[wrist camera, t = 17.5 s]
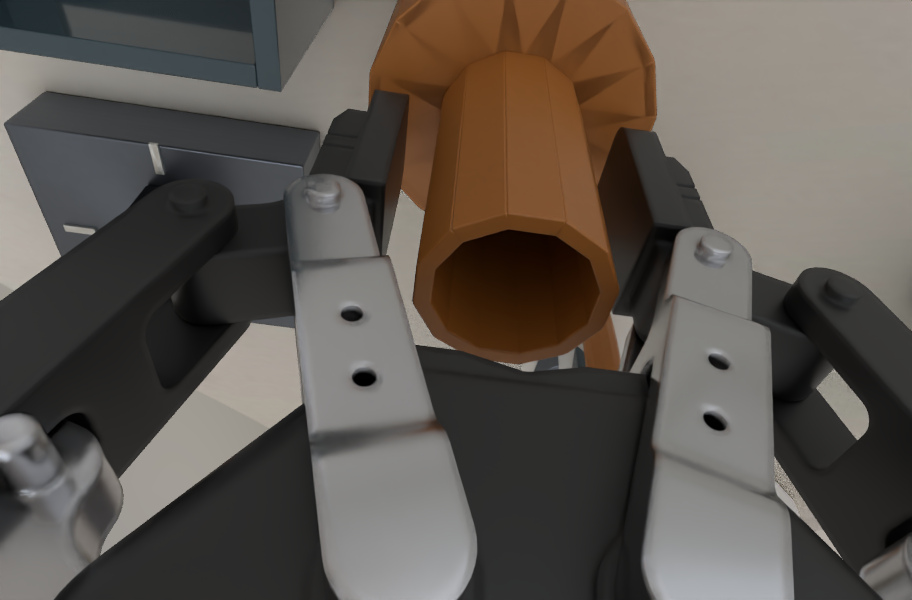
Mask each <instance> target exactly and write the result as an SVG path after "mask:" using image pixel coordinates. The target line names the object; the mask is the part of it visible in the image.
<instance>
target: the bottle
mask: <svg viewBox="0 0 912 600" xmlns="http://www.w3.org/2000/svg"><path fill="white" fill-rule="evenodd" d="M375 89H376V90H383V91H390V92H396V93H403V94H409V112H408V125H407V137H406V149H405V161H404V171H403V178H402V184H401V189H402V190H403V191H404V192H405V193H406V194H407V195H408V196H409V197H410V199H411V200H412V201H413V202H414V203H415V204H416V205H417V206H418V207H419V208H420V209H422V210H424V211H425V215H424V221H423V228H422V234H421V240H420V247H419V253H418V259H417V266H416V274H415V283H414V292H413V300H412V301H413V304H414V306H415V308H416V309H417V311H418V312H419V314H420V316H421V317H422V319H423V320H424V322H425V324H426V325H427V327H428V328H429V330H430V332H431V333H432V335H433V336H434V337H435V338H437V339H438V340H440V341H442V342H444V343H446V344H447V345H449V346H451V347H453V348H455V349H456V350H459V351H464V352H467V353H470V354H473V355H476V356H479V357H482V358H485V359H488V360H491V361H496V362H504V363H512V364H524V363H529V362H533V361H538V360H542V359H547V358H552V357H556V356H561V355H565V354H567V353H569V352H570V351H572V350H573V349H575V348H576V347H577V346H579V345H580V344H582V343H583V342H585V341H586V340H588V339H589V338H590V337H592V336H593V335H595V334H596V333H598V332H599V331H601V330H602V328H603V327H604V325H605V323H606V321H607V319H608V316H609V314H610V312H611V310H612V308H613V305H614V303H615V301H616V299H617V296H618V294H619V284H618V279H617V275H616V270H615V266H614V261H613V256H612V252H611V247H610V243H609V238H608V234H607V229H606V224H605V220H604V215H603V211H602V206H601V201H600V197H599V192H598V188H597V186H598V183H599V180H600V177H601V174H602V171H603V168H604V166H605V163H606V160H607V157H608V154H609V151H610V149H611V146H612V143H613V140H614V137H615V135H616V133H617V131H618V130H619V128H621V127H625V128H632V129H639V130H645V131H651V130H652V127H653V125H654V122H655V120H656V116H657V104H656V74H655V61H654V57H653V55H652V53H651V51H650V49H649V47H648V45H647V43H646V41H645V39H644V37H643V35H642V32H641V30H640V28H639V26H638V24H637V22H636V20H635V18H634V16H633V14H632V12H631V10H630V8H629V6H628V4H627V2H626V0H398V1H397V4H396V7H395V9H394V12H393V14H392V17H391V19H390V22H389V24H388V27H387V29H386V32H385V34H384V37H383V40H382V42H381V45H380V47H379V50H378V52H377V55H376V57H375V60H374V62H373V65H372V67H371V70H370V78H369V105H370V102H371V99H372V97H373V94H374V91H375Z"/></svg>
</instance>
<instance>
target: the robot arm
mask: <svg viewBox="0 0 912 600" xmlns="http://www.w3.org/2000/svg"><path fill="white" fill-rule="evenodd" d="M408 112H409V94H403V93H396V92H390V91H383V90H376V89H375V91H374V94H373V97H372V99H371V102H370V105H369V108H368V111H360V110H353V109H347V110H346V111H344V112H343V113H341V114H340V115H338V116H337V117H335V118H334V119H333V121H332V124H331V126H330V128H329V130H328V134H327V135H326V137H325V139H324V142H323V145H322V146H321V149H320V151H319V153H318V155H317V158H316V160H315V162H314V165H313V167H312V169H311V171H310V174H309V175H307V176H304V177H300V178H298V179H296V180H294V181H293V182H291V183H290V184H289V185H288V186H287V187H286V188H285V190H284V193H283V200H280V201H276V202H271V203H263V204H247V205H235V201H234V197H233V194H232V193H231V191H230V190H229V189H228V188H226V187H225V186H223V185H222V184H219V183H217V182H214V181H210V180H204V179H184V180H178V181H173V182H170V183H167V184H164V185H162V186H160V187H158V188H156V189H155V190H153V191H152V192H150V193H149V194H147V195H146V196H145V197H143V198H142V199H141V200H139V201H138V202H136V203H135V204H134V205H132V206H131V207H129V208H128V209H127V210H125V211H124V212H123V213H121V214H120V215H118V216H117V217H116V218H114V219H113V220H112V221H110V222H109V223H107V224H106V225H105V226H103V227H102V228H100V229H99V230H98V231H96V232H95V233H94V234H92V235H91V236H89V237H88V238H87V239H85V240H84V241H83V242H81V243H80V244H78V245H77V246H76V247H74V248H73V249H72V250H70V251H69V252H67V253H66V254H65V255H63V256H62V257H60V258H59V259H58V260H56V261H55V262H54V263H52V264H51V265H49V266H48V267H47V268H45V269H44V270H43V271H41V272H40V273H38V274H37V275H36V276H34V277H33V278H32V279H30V280H29V281H27V282H26V283H25V284H23V285H22V286H20V287H19V288H18V289H16V290H15V291H14V292H12V293H11V294H9V295H8V296H7V297H5V298H4V299H3V300H1V301H0V600H912V331H911V330H910V329H909V328H908V327H907V326H906V325H905V324H904V323H903V322H902V321H901V320H900V319H899V318H898V317H897V316H896V315H895V314H894V313H893V312H892V311H891V310H890V309H889V308H888V307H887V306H886V305H884V304H883V303H882V302H881V301H880V300H879V299H878V298H877V297H876V296H875V295H874V294H873V293H872V292H871V291H870V290H869V289H868V288H867V287H866V286H864V285H863V284H862V283H860V282H859V281H857V280H855V279H854V278H852V277H850V276H848V275H846V274H843V273H841V272H838V271H835V270H831V269H827V268H809V269H806V270H804V271H803V272H802V273H801V274H800V275H799V277H798V278H797V280H796V281H795V282H794V284H793V285H792V284H789V283H786V282H783V281H780V280H778V279H775V278H772V277H769V276H766V275H763V274H760V273H758V272H755V271H753V270H752V259H751V256H750V254H749V253H748V251H747V250H746V249H745V248H744V247H743V246H742V245H741V244H740V243H739V242H738V241H736V240H735V239H733V238H731V237H730V236H728V235H726V234H724V233H722V232H719V231H716V230H714V228H713V226H712V224H711V221H710V219H709V217H708V215H707V212H706V210H705V208H704V205H703V203H702V201H701V200H700V196H699V194H698V192H697V189H694V188H695V185H694V183H693V180H692V178H691V176H690V173H689V171H687V170H686V169H685V168H684V167H683V166H682V165H681V164H680V163H679V162H678V161H677V160H676V159H675V158H673V157H666V156H665V154H664V151H663V149H662V146H661V144H660V141H659V139H658V136H657V134H656V133H655V132H652V131H645V130H639V129H632V128H625V127H621V128H619V130H618V131H617V133H616V135H615V137H614V140H613V143H612V146H611V149H610V151H609V154H608V157H607V160H606V163H605V166H604V168H603V171H602V174H601V177H600V180H599V183H598V186H597V188H598V192H599V197H600V201H601V206H602V211H603V215H604V220H605V224H606V229H607V234H608V238H609V243H610V247H611V252H612V256H613V261H614V266H615V270H616V275H617V279H618V284H619V294H618V296H617V299H616V301H615V303H614V305H613V308H612V314H614V315H621V316H628V317H633V321H634V322H633V324H632V327H631V329H630V331H629V333H628V335H627V337H626V340H625V344H624V348H623V353H622V357H621V361H620V365H619V369H618V371H614V370H607V369H599V368H591V367H579V368H568V369H556V370H544V371H532V372H527V371H521V370H518V369H515V368H512V367H509V366H506V365H503V364H500V363H497V362H494V361H491V360H488V359H485V358H482V357H479V356H476V355H473V354H470V353H467V352H464V351H459V350H451V349H444V348H436V347H428V346H420V345H415V343H414V339H413V336H412V332H411V329H410V325H409V321H408V318H407V314H406V311H405V307H404V304H403V300H402V297H401V293H400V290H399V286H398V282H397V279H396V275H395V272H394V268H393V265H392V262H391V259H390V257H389V256H388V255H386V253H387V248H388V244H389V239H390V235H391V230H392V226H393V221H394V217H395V212H396V208H397V203H398V198H399V194H400V189H401V184H402V178H403V171H404V161H405V149H406V137H407V125H408ZM166 300H167V301H166ZM165 301H166V302H165ZM164 302H165V303H164ZM163 303H164V304H163ZM162 304H163V305H162ZM161 305H162V306H161ZM160 306H161V307H160ZM287 316H294V326H295V336H296V346H297V356H298V366H299V376H300V386H301V397H302V405H301V406H299V407H298V408H297V409H295V410H294V411H293V412H291V413H290V414H289V415H287V416H286V417H285V418H283V419H282V420H281V421H279V422H278V423H277V424H275V425H274V426H273V427H271V428H270V429H269V430H267V431H266V432H265V433H263V434H262V435H261V436H259V437H258V438H257V439H255V440H254V441H253V442H251V443H250V444H249V445H247V446H246V447H245V448H243V449H242V450H241V451H239V452H238V453H237V454H235V455H234V456H233V457H232V458H230V459H229V460H227V461H226V462H225V463H223V464H222V465H221V466H219V467H218V468H217V469H216V470H214V471H213V472H211V473H210V474H209V475H208V476H206V477H205V478H203V479H202V480H201V481H199V482H198V483H197V484H195V485H194V486H193V487H192V488H190V489H189V490H187V491H186V492H185V493H183V494H182V495H181V496H179V497H178V498H177V499H175V500H174V501H173V502H171V503H170V504H169V505H167V506H166V507H165V508H163V509H162V510H161V511H160V512H158V513H157V514H155V515H154V516H153V517H151V518H150V519H149V520H147V521H146V522H145V523H144V524H142V525H141V526H140V527H138V528H137V529H136V530H134V531H133V532H131V533H130V534H129V535H127V536H126V537H125V538H123V539H122V540H121V541H119V542H118V543H117V544H115V545H114V546H113V547H111V548H110V549H109V550H107V551H106V552H105V553H103V554H102V555H101V556H100V553H101V549H102V546H103V544H104V541H105V539H106V537H107V535H108V534H109V532H110V531H111V529H112V527H113V525H114V524H115V523H116V521H117V519H118V517H119V515H120V512H121V509H122V505H123V489H122V486H121V484H120V482H119V478H120V476H121V475H122V474H123V473H124V472H125V471H126V469H127V468H128V467H129V466H130V465H131V464H132V462H133V461H134V460H135V459H136V458H137V457H138V455H139V454H140V453H141V452H142V451H143V450H144V449H145V447H146V446H147V445H148V444H149V443H150V442H151V440H152V439H153V438H154V437H155V436H156V434H157V433H158V432H159V431H160V430H161V429H162V428H163V426H164V425H165V424H166V423H167V422H168V420H169V419H170V418H171V417H172V416H173V415H174V414H175V412H176V411H177V410H178V409H179V408H180V407H181V405H182V404H183V403H184V402H185V401H186V400H187V398H188V397H189V396H190V395H191V394H192V393H193V391H194V390H195V389H196V388H197V387H198V386H199V385H200V383H201V382H202V381H203V380H204V379H205V378H206V376H207V375H208V374H209V373H210V372H211V371H212V369H213V368H214V367H215V366H216V365H217V364H218V362H219V361H220V360H221V359H222V358H223V357H224V355H225V354H226V353H227V352H228V351H229V350H230V348H231V347H232V346H233V345H234V344H235V343H236V341H237V340H238V339H239V338H240V337H241V336H242V335H243V333H244V332H245V331H246V330H247V328H248V327H249V325H250V323H251V321H253V320H262V319H270V318H279V317H287ZM833 368H834V369H835V370H836V371H837V372H838V374H839V375H840V376H841V377H842V378H843V380H844V381H845V382H846V383H847V384H848V385H849V387H850V388H851V389H852V390H853V391H854V393H855V394H856V395H857V396H858V397H859V399H860V400H861V401H862V402H863V404H864V405H865V407H866V409H867V411H868V415H869V427H868V429H867V431H866V433H865V434H864V435H863V436H862V437H861V438H860V439H859V440H856V438H855V437H854V436H853V435H852V433H851V432H850V431H849V430H848V428H847V427H846V426H845V424H844V423H843V422H842V421H841V419H840V418H839V417H838V416H837V414H836V413H835V412H834V410H833V409H832V408H831V407H830V405H829V404H828V403H827V402H826V400H825V399H824V398H823V397H822V395H821V394H820V393H819V391H818V390H817V389H816V387H817V386H818V385H819V384H820V383H821V382H822V381H823V379H824V378H825V377H826V376H827V375H828V374H829V373H830V372H831V371H832V370H833ZM774 456H775V458H776V459H777V461H778V462H779V464H780V465H781V467H782V468H783V470H784V471H785V473H786V474H787V476H788V477H789V479H790V480H791V482H792V483H793V485H794V486H795V488H796V489H797V491H798V492H799V494H800V495H801V497H802V498H803V500H804V501H805V503H806V504H807V506H808V507H809V509H810V510H811V512H812V513H813V515H814V516H815V518H816V519H817V521H818V522H819V524H820V525H821V527H822V529H823V530H824V532H825V533H826V535H827V536H828V537H829V539H830V540H831V542H832V543H833V545H834V547H835V548H836V550H837V551H838V553H839V554H840V556H841V557H842V558H841V557H840V556H839V555H838V554H837V553H836V552H835V551H833V550H832V549H831V548H830V547H829V546H828V545H827V544H826V543H825V542H824V541H823V540H822V539H821V538H820V537H819V536H818V535H817V534H816V533H815V532H814V531H813V530H812V529H811V528H810V527H809V526H808V525H807V524H806V523H805V522H804V521H803V520H802V519H801V518H800V517H799V516H798V515H797V514H796V513H795V512H794V511H793V510H792V509H791V508H789V507H788V506H787V505H786V504H785V503H784V502H783V501H782V500H781V499H780V498H779V497H778V495H777V493H776V490H775V472H774Z"/></svg>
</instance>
